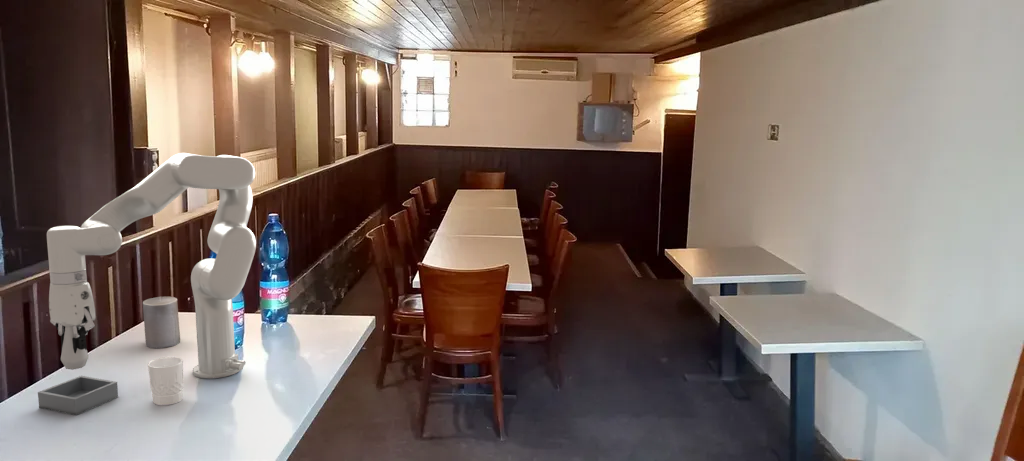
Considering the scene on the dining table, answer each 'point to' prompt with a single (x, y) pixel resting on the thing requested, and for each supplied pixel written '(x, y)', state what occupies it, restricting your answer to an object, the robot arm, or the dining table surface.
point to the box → (78, 395)
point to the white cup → (166, 380)
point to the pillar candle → (161, 322)
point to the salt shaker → (72, 351)
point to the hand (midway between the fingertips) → (74, 350)
